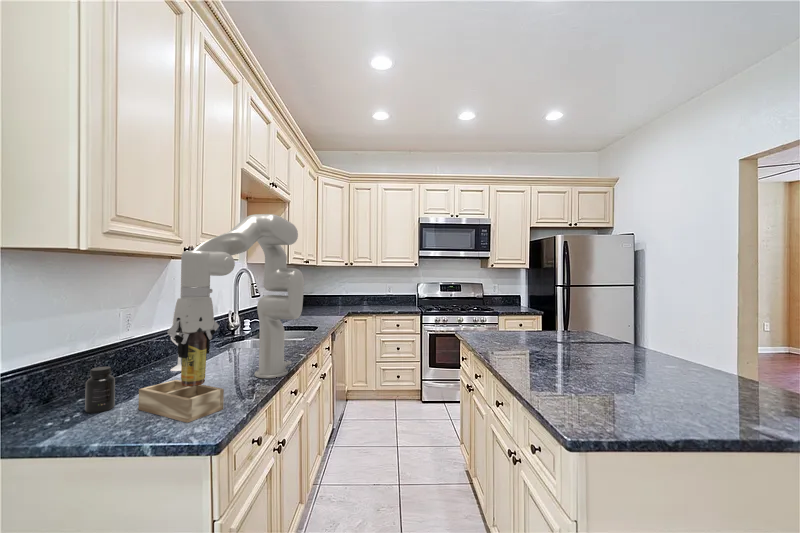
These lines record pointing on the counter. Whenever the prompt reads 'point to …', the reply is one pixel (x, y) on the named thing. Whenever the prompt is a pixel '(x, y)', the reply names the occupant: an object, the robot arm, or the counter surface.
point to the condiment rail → (181, 400)
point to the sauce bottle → (194, 360)
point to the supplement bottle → (100, 390)
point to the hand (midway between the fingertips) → (194, 354)
